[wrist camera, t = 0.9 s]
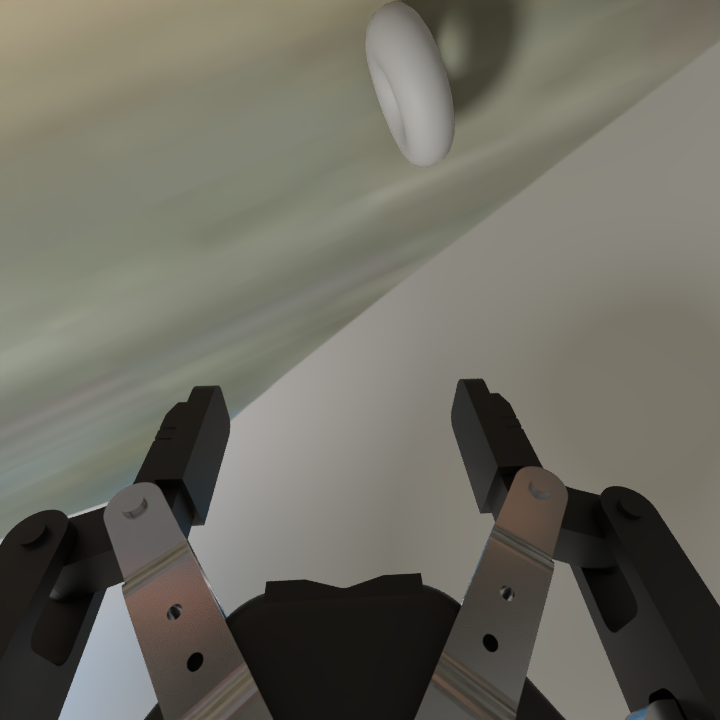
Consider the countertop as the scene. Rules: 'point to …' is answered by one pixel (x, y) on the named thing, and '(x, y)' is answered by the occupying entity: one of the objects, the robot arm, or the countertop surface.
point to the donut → (410, 83)
